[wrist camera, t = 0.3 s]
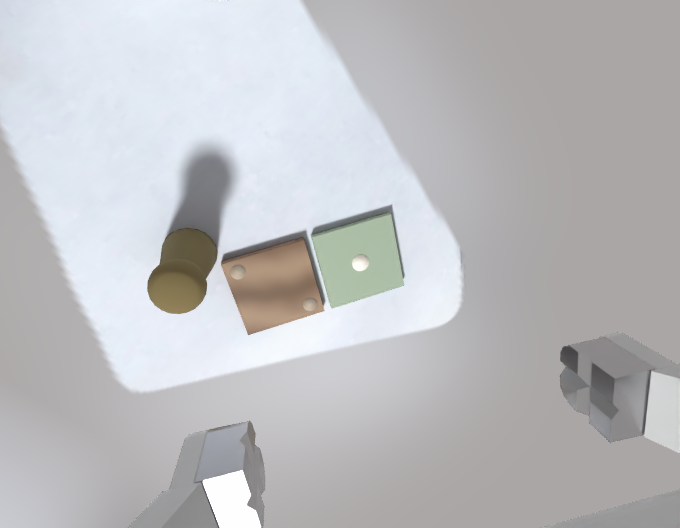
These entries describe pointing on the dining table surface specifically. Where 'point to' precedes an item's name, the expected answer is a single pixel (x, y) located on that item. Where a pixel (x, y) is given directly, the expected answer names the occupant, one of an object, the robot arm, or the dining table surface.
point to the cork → (182, 271)
